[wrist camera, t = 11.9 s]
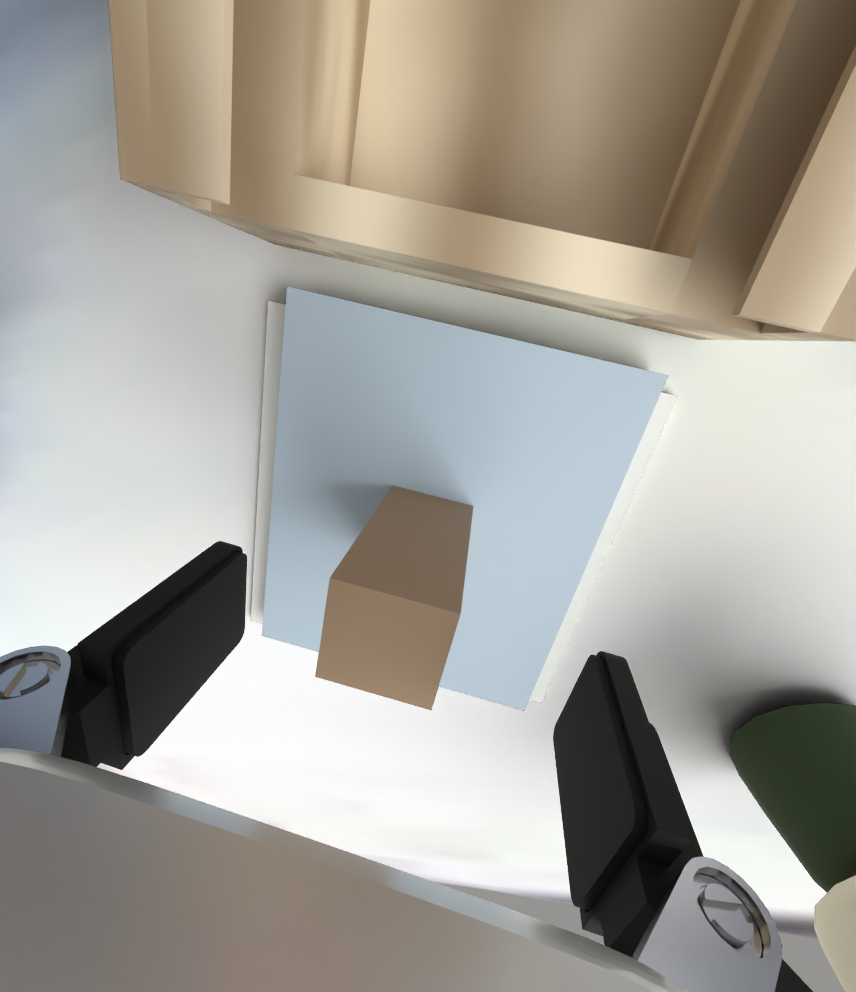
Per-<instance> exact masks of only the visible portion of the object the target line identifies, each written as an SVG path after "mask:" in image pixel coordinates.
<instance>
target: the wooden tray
mask: <svg viewBox="0 0 856 992" xmlns="http://www.w3.org/2000/svg"><path fill="white" fill-rule="evenodd" d="M109 15H110V30H111V45H112V60H113V76H114V91H115V106H116V121H117V136H118V151H119V166H120V179H122V180H125V181H127V182H129V183H132V184H134V185H136V186H139V187H141V188H143V189H146V190H148V191H151V192H153V193H155V194H158V195H160V196H162V197H165V198H167V199H169V200H172V201H174V202H177V203H179V204H181V205H184V206H186V207H188V208H191V209H193V210H195V211H198V212H200V213H202V214H205V215H207V216H210V217H212V218H214V219H217V220H219V221H221V222H224V223H226V224H228V225H231V226H233V227H236V228H238V229H240V230H243V231H245V232H247V233H250V234H252V235H254V236H257V237H259V238H262V239H264V240H266V241H269V242H271V243H273V244H276V245H281V246H285V247H290V248H294V249H298V250H303V251H307V252H312V253H316V254H321V255H325V256H330V257H334V258H339V259H343V260H347V261H352V262H356V263H361V264H365V265H370V266H374V267H379V268H383V269H388V270H392V271H396V272H401V273H405V274H410V275H414V276H419V277H423V278H428V279H432V280H437V281H441V282H446V283H450V284H454V285H459V286H463V287H468V288H472V289H477V290H481V291H486V292H490V293H495V294H499V295H503V296H508V297H512V298H517V299H521V300H526V301H530V302H535V303H539V304H544V305H548V306H552V307H557V308H561V309H566V310H570V311H575V312H579V313H584V314H588V315H593V316H597V317H602V318H606V319H610V320H615V321H619V322H624V323H628V324H633V325H637V326H642V327H646V328H651V329H655V330H659V331H664V332H668V333H673V334H677V335H682V336H686V337H691V338H695V339H709V340H791V341H856V0H109Z"/></svg>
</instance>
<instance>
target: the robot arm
mask: <svg viewBox="0 0 856 992" xmlns="http://www.w3.org/2000/svg"><path fill="white" fill-rule="evenodd" d="M246 572H247V556H246V554H244V553H243V552H242V549H241V547H239V546H236V545H232V544H229V543H225V542H222V541H218V542H216V543H215V544H213V545H212V546H211V547H209V548H208V549H206V550H205V551H204V552H202V553H201V554H200V555H198V556H197V557H195V558H194V559H193V560H191V561H190V562H189V563H187V564H186V565H185V566H183V567H182V568H180V569H179V570H178V571H176V572H175V573H174V574H172V575H171V576H169V577H168V578H167V579H165V580H164V581H163V582H161V583H160V584H158V585H157V586H156V587H154V588H153V589H152V590H150V591H149V592H148V593H146V594H145V595H143V596H142V597H141V598H139V599H138V600H137V601H135V602H134V603H132V604H131V605H130V606H128V607H127V608H126V609H124V610H123V611H122V612H120V613H119V614H117V615H116V616H115V617H113V618H112V619H111V620H109V621H108V622H106V623H105V624H104V625H102V626H101V627H100V628H98V629H97V630H95V631H94V632H93V633H91V634H90V635H89V636H87V637H86V638H85V639H83V640H82V641H80V642H79V643H78V645H77V646H75V647H74V648H72V649H71V650H70V651H68V652H66V651H65V650H63V649H60V648H58V647H52V646H36V647H29V648H25V649H21V650H17V651H14V652H11V653H9V654H6V655H4V656H1V657H0V992H813V991H812V990H811V989H810V988H809V987H808V986H807V985H806V984H805V983H804V982H803V981H802V980H801V978H800V977H799V976H798V975H797V974H796V973H795V972H794V971H793V970H792V969H791V968H790V967H789V966H788V965H787V964H786V963H785V961H784V960H783V959H782V944H781V940H780V937H779V933H778V930H777V927H776V925H775V923H774V921H773V919H772V917H771V915H770V913H769V911H768V910H767V908H766V907H765V905H764V904H763V902H762V901H761V900H760V898H759V897H758V895H757V894H756V893H755V892H754V891H753V889H752V888H751V887H750V886H749V885H748V884H747V883H746V882H745V881H744V880H743V879H742V878H741V877H740V876H739V875H737V874H736V873H735V872H734V871H732V870H731V869H730V868H729V867H727V866H725V865H724V864H722V863H720V862H718V861H716V860H714V859H711V858H706V857H703V854H702V852H701V849H700V846H699V843H698V841H697V838H696V835H695V833H694V830H693V827H692V825H691V822H690V819H689V817H688V814H687V811H686V809H685V806H684V803H683V801H682V798H681V795H680V793H679V790H678V787H677V784H676V782H675V779H674V776H673V774H672V771H671V768H670V766H669V763H668V760H667V758H666V755H665V752H664V750H663V747H662V744H661V742H660V739H659V736H658V734H657V732H656V730H655V728H654V726H653V725H652V724H651V723H649V721H648V718H647V716H646V713H645V710H644V707H643V705H642V702H641V699H640V696H639V694H638V691H637V688H636V685H635V682H634V680H633V677H632V674H631V671H630V669H629V666H628V663H627V661H626V659H625V658H623V657H620V656H616V655H613V654H610V653H606V652H603V651H600V652H599V653H598V654H597V655H596V656H595V655H590V656H589V658H588V660H587V662H586V664H585V666H584V668H583V670H582V672H581V674H580V676H579V678H578V680H577V682H576V684H575V686H574V688H573V690H572V692H571V694H570V696H569V698H568V700H567V703H566V705H565V707H564V709H563V711H562V713H561V715H560V717H559V719H558V721H557V723H556V725H555V728H554V735H553V741H554V750H555V759H556V768H557V777H558V786H559V794H560V803H561V812H562V821H563V830H564V839H565V848H566V856H567V865H568V874H569V883H570V892H571V898H572V902H573V904H574V905H575V906H576V907H579V908H580V914H581V922H582V929H583V930H586V931H589V932H592V933H595V934H598V935H601V936H603V937H604V944H605V946H604V945H602V944H599V943H597V942H595V941H593V940H590V939H588V938H586V937H583V936H580V935H577V934H575V933H572V932H570V931H567V930H564V929H561V928H559V927H556V926H553V925H551V924H548V923H546V922H543V921H540V920H538V919H535V918H532V917H529V916H527V915H524V914H521V913H519V912H516V911H513V910H511V909H508V908H505V907H502V906H499V905H497V904H494V903H491V902H488V901H485V900H483V899H480V898H477V897H474V896H471V895H468V894H465V893H463V892H460V891H457V890H454V889H452V888H449V887H446V886H443V885H440V884H437V883H435V882H432V881H429V880H426V879H423V878H420V877H418V876H415V875H412V874H409V873H406V872H403V871H401V870H398V869H395V868H392V867H389V866H386V865H383V864H381V863H378V862H375V861H372V860H369V859H366V858H363V857H360V856H358V855H355V854H352V853H349V852H346V851H343V850H340V849H337V848H335V847H332V846H329V845H326V844H323V843H320V842H317V841H314V840H311V839H309V838H306V837H303V836H300V835H297V834H294V833H291V832H288V831H285V830H282V829H280V828H277V827H274V826H271V825H268V824H265V823H262V822H259V821H256V820H254V819H251V818H248V817H245V816H242V815H239V814H236V813H233V812H230V811H227V810H224V809H221V808H218V807H215V806H212V805H209V804H206V803H203V802H201V801H198V800H195V799H192V798H189V797H186V796H183V795H180V794H177V793H174V792H171V791H168V790H165V789H162V788H159V787H156V786H153V785H151V784H148V783H144V782H141V781H138V780H135V779H132V778H129V777H125V776H122V775H119V774H116V773H113V772H110V771H107V770H103V769H100V768H97V766H98V765H99V764H100V763H103V764H106V765H109V766H112V767H115V768H117V769H120V770H123V768H124V767H125V766H126V765H127V764H128V763H129V762H130V760H131V759H132V758H133V757H134V756H137V757H138V756H141V755H142V754H143V753H145V751H146V750H147V749H148V748H149V747H150V746H151V745H152V744H153V742H154V741H155V740H156V739H157V738H158V737H159V735H160V734H161V733H162V732H163V731H164V730H165V728H166V727H167V726H168V725H169V724H170V723H171V721H172V720H173V719H174V718H175V717H176V716H177V714H178V713H179V712H180V711H181V710H182V709H183V707H184V706H185V705H186V704H187V703H188V702H189V700H190V699H191V698H192V697H193V696H194V695H195V693H196V692H197V691H198V690H199V689H200V688H201V686H202V685H203V684H204V683H205V682H206V681H207V679H208V678H209V677H210V676H211V675H212V674H213V672H214V671H215V670H216V669H217V668H218V667H219V665H220V664H221V663H222V662H223V661H224V660H225V658H226V657H227V656H228V655H229V654H230V653H231V651H232V650H233V649H234V648H235V647H236V646H237V644H238V643H239V642H240V640H241V639H242V636H243V634H244V629H245V603H246Z"/></svg>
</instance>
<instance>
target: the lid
mask: <svg viewBox="0 0 856 992" xmlns="http://www.w3.org/2000/svg"><path fill="white" fill-rule="evenodd" d="M667 378H668V375H665V374H660V373H656V372H652V371H647V370H643V369H639V368H635V367H630V366H626V365H622V364H617V363H613V362H609V361H605V360H600V359H596V358H592V357H588V356H583V355H579V354H575V353H570V352H566V351H562V350H558V349H553V348H549V347H545V346H540V345H536V344H532V343H528V342H523V341H519V340H515V339H510V338H506V337H502V336H498V335H493V334H489V333H485V332H480V331H476V330H472V329H468V328H463V327H459V326H455V325H451V324H446V323H442V322H438V321H433V320H429V319H425V318H421V317H416V316H412V315H408V314H403V313H399V312H395V311H391V310H386V309H382V308H378V307H373V306H369V305H365V304H361V303H356V302H352V301H348V300H344V299H339V298H335V297H331V296H326V295H322V294H318V293H314V292H309V291H305V290H301V289H296V288H292V287H288V286H287V294H286V308H285V322H284V336H283V350H282V364H281V378H280V391H279V405H278V419H277V433H276V447H275V461H274V475H273V489H272V503H271V516H270V530H269V544H268V558H267V572H266V586H265V600H264V614H263V627H262V636H265V637H268V638H272V639H275V640H279V641H282V642H286V643H289V644H293V645H296V646H300V647H303V648H307V649H310V650H314V651H317V652H319V655H318V662H317V669H316V676H315V677H319V678H322V679H325V680H329V681H332V682H336V683H339V684H343V685H346V686H350V687H353V688H356V689H360V690H363V691H367V692H370V693H374V694H377V695H381V696H384V697H387V698H391V699H394V700H398V701H401V702H405V703H408V704H412V705H415V706H418V707H422V708H425V709H429V710H432V706H433V703H434V700H435V697H436V693H437V690H438V687H443V688H446V689H450V690H453V691H457V692H460V693H464V694H467V695H471V696H474V697H478V698H481V699H485V700H488V701H492V702H495V703H499V704H502V705H506V706H509V707H512V708H516V709H519V710H523V711H524V710H525V708H526V706H527V704H528V701H529V699H530V697H531V694H532V692H533V690H534V687H535V685H536V683H537V680H538V678H539V676H540V673H541V671H542V669H543V666H544V664H545V662H546V659H547V657H548V655H549V652H550V650H551V648H552V645H553V643H554V641H555V638H556V636H557V634H558V631H559V629H560V627H561V624H562V622H563V620H564V617H565V615H566V613H567V610H568V608H569V606H570V603H571V601H572V599H573V596H574V594H575V592H576V589H577V587H578V585H579V583H580V580H581V578H582V576H583V573H584V571H585V569H586V566H587V564H588V562H589V559H590V557H591V555H592V552H593V550H594V548H595V545H596V543H597V541H598V538H599V536H600V534H601V531H602V529H603V527H604V524H605V522H606V520H607V517H608V515H609V513H610V510H611V508H612V506H613V503H614V501H615V499H616V496H617V494H618V492H619V489H620V487H621V485H622V482H623V480H624V478H625V475H626V473H627V471H628V468H629V466H630V464H631V461H632V459H633V457H634V455H635V452H636V450H637V448H638V445H639V443H640V441H641V438H642V436H643V434H644V431H645V429H646V427H647V424H648V422H649V420H650V417H651V415H652V413H653V410H654V408H655V406H656V403H657V401H658V399H659V396H660V394H661V392H662V389H663V387H664V385H665V382H666V380H667Z"/></svg>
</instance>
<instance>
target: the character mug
mask: <svg viewBox="0 0 856 992" xmlns="http://www.w3.org/2000/svg"><path fill="white" fill-rule="evenodd" d="M729 754H730V756H731V759H732V761H733V763H734V765H735V767H736V769H737V771H738V774H739V776H740V777H741V778H742V780H743V781H744V783H745V784H746V786H747V787H748V789H749V790H750V792H751V793H752V795H753V796H754V798H755V799H756V801H757V802H758V804H759V805H760V807H761V808H762V810H763V811H764V813H765V814H766V815H767V817H768V818H769V820H770V821H771V822H772V824H773V825H774V826H775V828H776V829H777V831H778V832H779V833H780V835H781V836H782V837H783V839H784V840H785V841H786V843H787V844H788V846H789V847H790V848H791V850H792V851H793V852H794V854H795V855H796V857H797V858H798V859H799V861H800V862H801V863H802V865H803V866H804V868H805V869H806V870H807V872H808V873H809V874H810V876H811V877H812V879H813V880H814V881H815V882H816V883H817V884H818V885H819V886H820V887H822V888H823V889H824V890H825V891H826V892H827V894H826V895H825V896H824V897H823V898H822V899H821V900H820V901H819V902H818V903H817V904H816V905H815V920H814V929H815V931H816V934H817V936H818V939H819V942H820V944H821V946H822V949H823V951H824V953H825V955H826V957H827V959H828V960H829V963H830V965H831V966H832V968H833V970H834V972H835V974H836V976H837V977H838V979H839V981H840V983H841V985H842V987H843V989H844V991H845V992H856V706H853V705H842V704H832V703H817V704H805V705H793V706H787V707H784V708H780V709H777V710H774V711H771V712H768V713H764V714H761V715H758V716H756V717H754V718H753V719H752V720H750V721H749V722H748V723H746V724H745V725H744V726H743V727H741V728H740V729H739V730H737V731H736V732H735V733H734V737H733V741H732V745H731V748H730V752H729Z"/></svg>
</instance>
